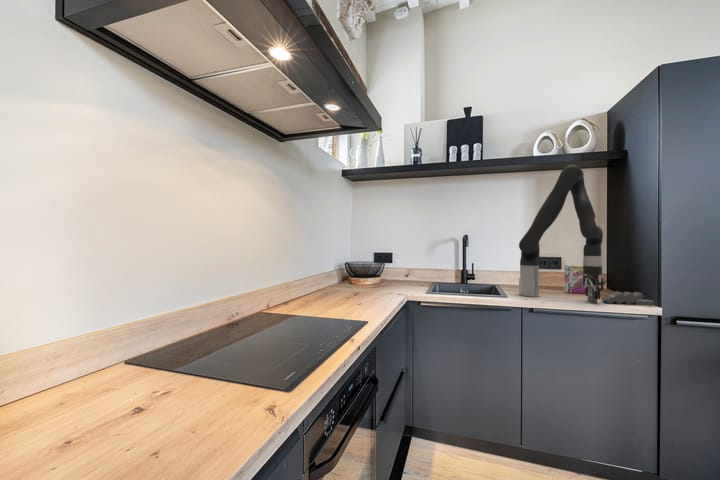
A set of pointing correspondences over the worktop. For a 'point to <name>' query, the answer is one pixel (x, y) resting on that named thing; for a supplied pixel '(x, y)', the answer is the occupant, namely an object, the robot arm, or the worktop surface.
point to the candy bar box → (573, 279)
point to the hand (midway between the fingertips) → (592, 297)
